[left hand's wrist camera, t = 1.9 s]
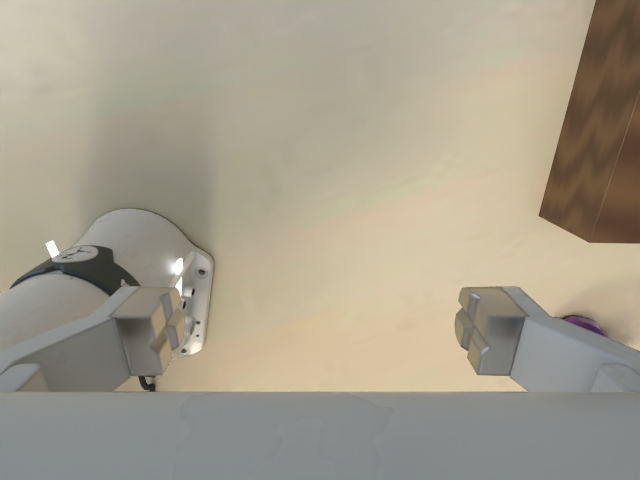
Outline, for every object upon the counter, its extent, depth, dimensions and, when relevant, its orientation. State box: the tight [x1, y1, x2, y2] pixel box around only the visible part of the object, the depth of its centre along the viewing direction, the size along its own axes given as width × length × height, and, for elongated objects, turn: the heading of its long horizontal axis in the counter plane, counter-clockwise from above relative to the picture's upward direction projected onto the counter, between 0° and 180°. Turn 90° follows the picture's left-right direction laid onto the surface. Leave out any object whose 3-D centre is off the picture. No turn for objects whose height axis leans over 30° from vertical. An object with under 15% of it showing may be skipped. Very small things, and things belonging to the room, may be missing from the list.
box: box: [539, 0, 640, 243], centre depth 35 cm, size 26×6×9 cm, turn 179°
